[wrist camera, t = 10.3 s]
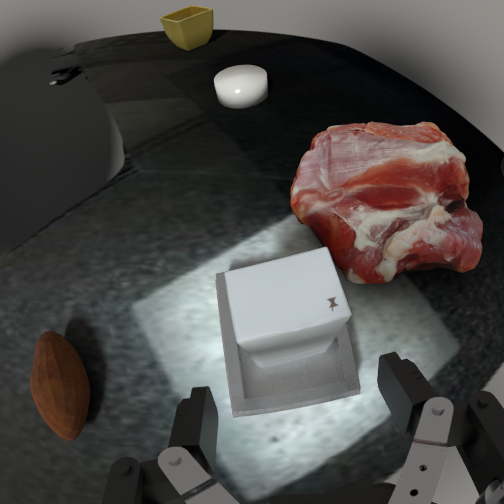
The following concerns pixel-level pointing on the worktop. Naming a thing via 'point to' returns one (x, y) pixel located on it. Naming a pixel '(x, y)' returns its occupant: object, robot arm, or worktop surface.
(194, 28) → the flower pot
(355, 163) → the meat
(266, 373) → the tray
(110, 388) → the worktop surface
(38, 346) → the potato
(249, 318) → the skincare box
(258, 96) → the white domed puck
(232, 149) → the worktop surface
